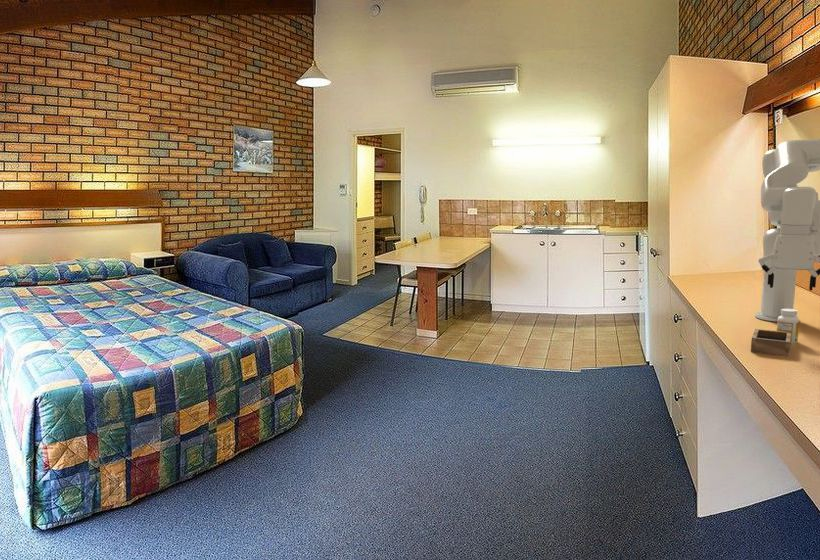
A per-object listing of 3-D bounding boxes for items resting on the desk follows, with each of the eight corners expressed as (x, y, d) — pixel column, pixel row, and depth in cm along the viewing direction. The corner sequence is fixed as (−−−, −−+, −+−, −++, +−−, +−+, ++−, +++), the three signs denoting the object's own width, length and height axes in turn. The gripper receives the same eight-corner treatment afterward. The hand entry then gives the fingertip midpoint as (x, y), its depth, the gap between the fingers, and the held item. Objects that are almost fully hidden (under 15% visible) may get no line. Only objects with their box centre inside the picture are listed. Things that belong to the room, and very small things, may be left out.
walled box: (754, 341, 168) (755, 328, 168) (790, 345, 163) (791, 332, 162) (750, 351, 159) (751, 337, 158) (788, 356, 153) (789, 342, 153)
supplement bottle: (788, 338, 170) (791, 307, 169) (801, 343, 165) (804, 311, 163) (771, 339, 170) (774, 308, 169) (784, 344, 165) (786, 312, 163)
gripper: (832, 230, 160) (826, 288, 163) (761, 229, 170) (757, 284, 173) (833, 232, 154) (827, 293, 157) (759, 231, 164) (755, 288, 167)
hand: (790, 288), depth 165 cm, fingers open, 9 cm apart
